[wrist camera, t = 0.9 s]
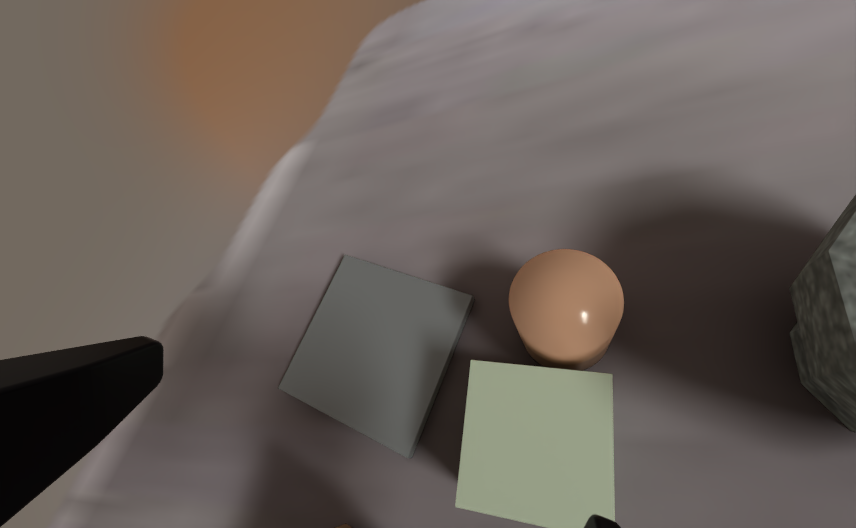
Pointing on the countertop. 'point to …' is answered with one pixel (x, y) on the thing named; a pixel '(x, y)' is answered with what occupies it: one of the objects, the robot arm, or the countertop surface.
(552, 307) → the dome-topped tan cylinder
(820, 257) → the mortar and pestle
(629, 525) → the countertop surface
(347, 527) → the walnut block
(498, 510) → the sage block
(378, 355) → the slate coaster
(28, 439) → the robot arm
